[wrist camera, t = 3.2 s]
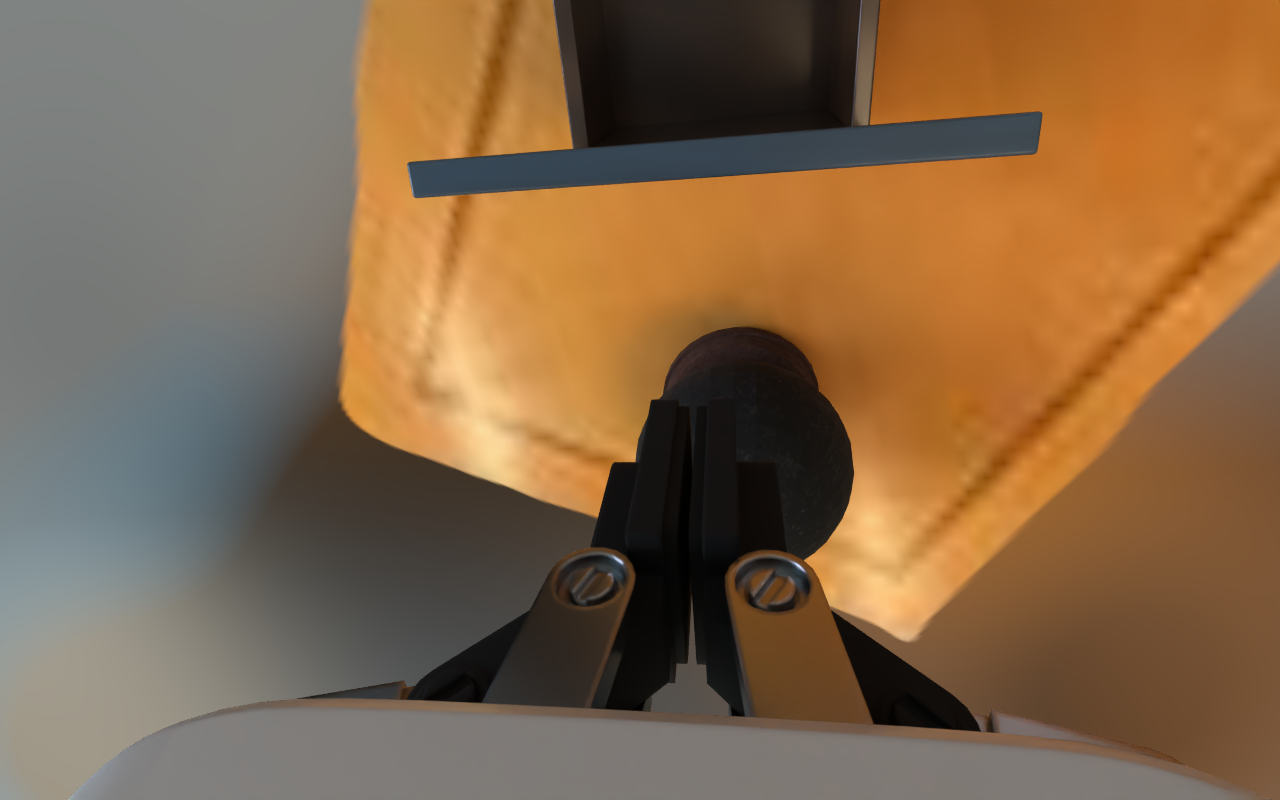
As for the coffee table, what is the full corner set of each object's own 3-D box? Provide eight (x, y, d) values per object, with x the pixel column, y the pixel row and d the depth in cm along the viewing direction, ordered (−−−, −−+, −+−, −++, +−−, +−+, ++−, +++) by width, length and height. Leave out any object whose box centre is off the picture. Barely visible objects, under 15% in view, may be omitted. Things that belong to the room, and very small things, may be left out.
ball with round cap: (701, 281, 41) (689, 395, 29) (870, 364, 43) (930, 507, 30) (622, 426, 48) (584, 570, 35) (771, 493, 50) (785, 654, 37)
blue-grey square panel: (405, 161, 14) (412, 198, 15) (1044, 110, 12) (1038, 153, 13) (572, 162, 30) (574, 179, 30) (870, 139, 28) (869, 158, 28)
